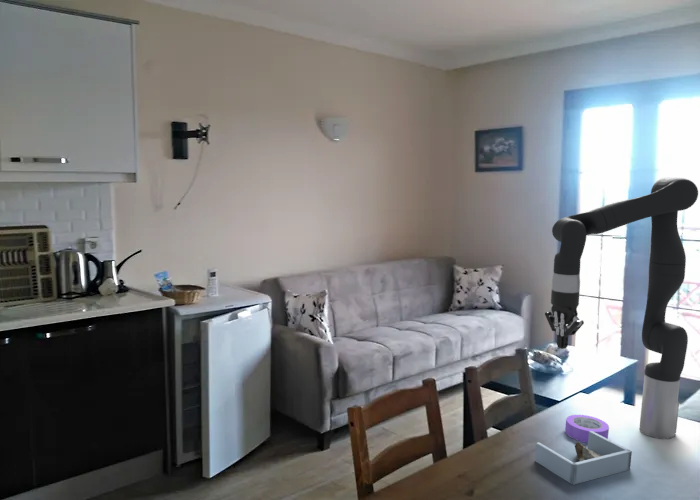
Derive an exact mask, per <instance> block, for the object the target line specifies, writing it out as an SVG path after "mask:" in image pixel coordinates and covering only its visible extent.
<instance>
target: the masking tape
mask: <svg viewBox="0 0 700 500" xmlns="http://www.w3.org/2000/svg"><path fill="white" fill-rule="evenodd" d="M609 430H610V427H609V425H608V423H607V422H606V421H604V420H602V419H600V418H598V417H595V416H590V415H588V414H587V415H585V414H572V415H569V416H567V417H566V419H565V429H564V431H565V433H566V435H567V436H568V437H570V438H572V439H574V440H576V441H577V442H582V443H587V444H588V439H589V431H593V432H595V433H597V434H599V435H601V436H603V437H605V438H607V439H609Z"/></svg>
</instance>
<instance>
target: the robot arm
mask: <svg viewBox="0 0 700 500" xmlns="http://www.w3.org/2000/svg"><path fill="white" fill-rule="evenodd" d="M698 197H699V189H698V186H697V185H696V184H695V182H693V181H692V180H691V179H687V178H684V177H662V178H659V179H658V180H656V181H655V182H654V184H653V186H652V187H651V190H650V193H648V194H646V195H642V196H639V197H635V198H634V197H633V198H630V199H625V200H620V201H615V202H611V203H608V204H606V205H602V206H600V207H597V208H594V209H592V210H589V211H585V212H581V213H578V214H577V213H576V214H573V215H572V214H571V215H569V216H565V217H562V218H560V219H558V220H557V221H556V222H555V223H554V224H553V226H552V229H551V233H552V236H553V238H554V239H555V240H557V241H558V242H559V243H560V247H559V252H557V253H555V256H554V259H553V272H552V273H553V274H552V279H551V293H550V295H551V296H550V304H551V305H552V306H551V308H550V310H549V311H547V312H544V316H545V318H546V320H547V323H548V325H549V326H550V330H551V331H552V332H555V334H556V336H557V337H556V345H557V348H559V349H561V350H562V349H563V350H564V349H567V347H568V346H569V345H568V344H569V337H570V336H574V335H575V334H576V333H577V332H578V331H579V330H580V329H581V328H582V326H583V325H584V323H585V322H584V320H582V319H580V318H579V317H578V315H579V314H578V310H577V308H578V307H579V304H580V290H581V289H580V288H581V287H580V286H581V278H580V277H581V275H580V274H581V258H582V256H583V252H584V249H585V247H586V241H587V236H588V235H598V234H603V233H606V232H609V231H612V230H615V229H617V228H620V227H623V226H625V225H628V224H631V223H634V222H637V221H641V220H644V219H646V218H650V217H651V218H650V220H651V233H650V253H649V259H648V260H649V261H648V263H649V264H648V285H647V286H648V287H647V295H646V304H645V312H644V317H643V323H642V327H641V328H642V329H641V340H642V341H641V342H642V345H643V347H645V349H646V350H648V351H652V352H655V353H656V354H657V353H658V354H661V356H660V362H656V361H655V362H649V363H647V364H646V365H645V368H644V376H643V387H642V396H641V397H642V398H641V408H640V409H641V410H640V416H639V417H640V418H639V427H638V428H639V431H640V432H641V433H643V434H645V435H647V436H649V437H652V438H656V439H665V440H666V439H669V440H670V439H672V438H674V437H675V435H676V434H677V428H678V427H677V426H678V420H679V419H678V417H679V410H680V409H679V408H680V403H679V393H680V383H681V374H682V372H683V370H684V367H685V362H686V356H687V350H688V343H689V342H688V341H689V336H688V332H687V330H686V329H685V328H684V327H682V326H680V325H677V324H673V323H671V322H670V323H669V322H666V311H667V307H668V306H669V305H668V304H669V302H670V301H671V299H672V298H673V297H674V295H675V294H676V293H677V292H678V290H679V289H680V288H681V286H682V285H683V282H684V281H685V277H686V276H685V275H686V266H687V265H686V263H687V262H686V261H687V259H686V257H687V256H686V252H685V251H686V250H685V248H684V246H683V242H682V240H681V236H680V233H679V230H678V216H679V215H678V212H680V211H685V210H688V209H690V208H691V207H692V206H693V205H694V204H695V203H696V202H697V200H698ZM675 433H676V434H675Z"/></svg>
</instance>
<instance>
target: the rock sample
mask: <svg viewBox="0 0 700 500" xmlns="http://www.w3.org/2000/svg"><path fill="white" fill-rule="evenodd" d="M574 450H575V453H576V456H577V460H578V462H580V461H584V460H588V459H592V458H596V457H600V456H601V455H599V454H597V453H595V452H594V451H591V450H589V449H588V447H586V445H583V444H582V443H581V441H576V443H575V444H574Z"/></svg>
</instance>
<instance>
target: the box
mask: <svg viewBox="0 0 700 500" xmlns="http://www.w3.org/2000/svg"><path fill="white" fill-rule="evenodd" d="M587 449H589V450H591V451H594V452H595V453H596V454H599V455H601V456H600V457H596V458H592V459H588V460H584V461H577V462H573V461H571V460H570V459H568V458H567V457H565V456H563V455H562V454H560V453H558V452H557V451H555V450H553V449H551V448H550V447H548V446H546V445H544V444H543V443H541V442H539V441H538V442H536V444H535V457H534V461H535V462H536V463H537V464H538V465H541V466H542V467H544V468H545V469H547V470H548V471H550V472H551V473H553V474H554V475H556V476H558V477H559V478H561V479H563V480H564V481H566V482H567V483H569V484H571V485H572V486H573V485H577V484H581V483H585V482H588V481H592V480H595V479H599V478H604V477H608V476H611V475H615V474H619V473H623V472H626V471H631V467H632V466H631V465H632V464H631V463H632V455H633V454H632V453H633V451H632V450H630V449H628V448H626V447H625V446H623V445H620V444H619V443H617V442H615V441H612V440H611V439H609V438H608V439H607V438H605V437H603V436H601V435H599V434H597V433H595V432H593V431H589V439H588V443H587Z"/></svg>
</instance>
